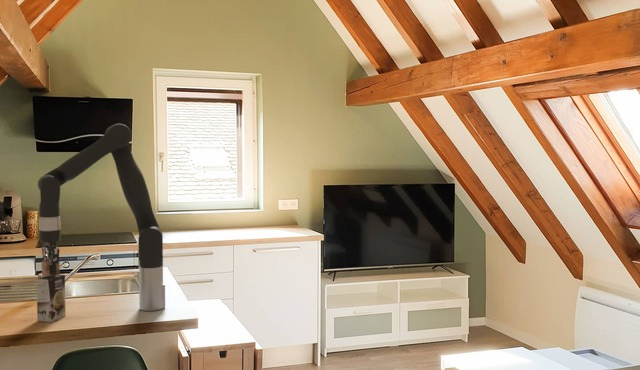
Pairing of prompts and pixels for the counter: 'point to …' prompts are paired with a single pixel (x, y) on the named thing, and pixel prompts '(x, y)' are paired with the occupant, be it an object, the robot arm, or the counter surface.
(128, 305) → the counter surface
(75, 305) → the counter surface
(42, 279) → the coffee box
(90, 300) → the counter surface
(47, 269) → the walnut cube
